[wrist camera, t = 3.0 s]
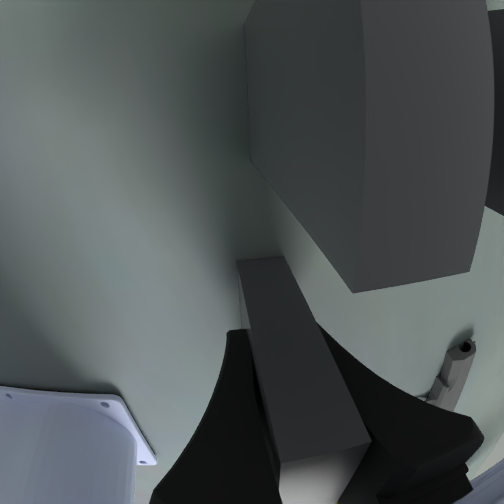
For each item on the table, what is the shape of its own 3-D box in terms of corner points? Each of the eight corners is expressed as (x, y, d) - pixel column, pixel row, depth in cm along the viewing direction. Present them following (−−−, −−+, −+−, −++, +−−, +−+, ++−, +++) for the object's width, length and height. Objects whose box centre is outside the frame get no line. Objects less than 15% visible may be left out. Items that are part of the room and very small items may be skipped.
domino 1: (250, 161, 10) (352, 293, 3) (244, 23, 8) (335, -126, 1) (302, 158, 11) (469, 271, 3) (298, 25, 8) (464, -75, 1)
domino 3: (378, 157, 11) (559, 249, 4) (376, 35, 9) (568, 7, 2) (414, 159, 11) (584, 242, 4) (415, 44, 9) (596, 40, 2)
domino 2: (244, 353, 14) (276, 520, 7) (236, 261, 12) (281, 462, 5) (282, 348, 14) (332, 507, 7) (283, 256, 12) (371, 441, 5)
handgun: (308, 403, 17) (468, 333, 17) (327, 480, 25) (433, 434, 25) (316, 426, 16) (482, 348, 16) (332, 494, 23) (440, 446, 23)
